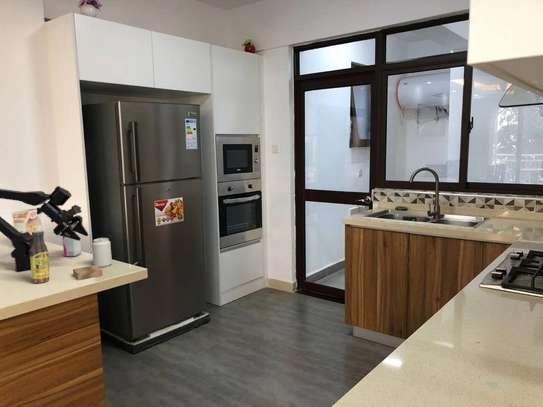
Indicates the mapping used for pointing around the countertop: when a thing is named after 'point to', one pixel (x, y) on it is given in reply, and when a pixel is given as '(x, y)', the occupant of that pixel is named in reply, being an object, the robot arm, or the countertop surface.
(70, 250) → the supplement box
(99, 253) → the can
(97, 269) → the walnut plinth
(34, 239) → the sauce bottle
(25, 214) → the coffeecake box
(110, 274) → the countertop surface
